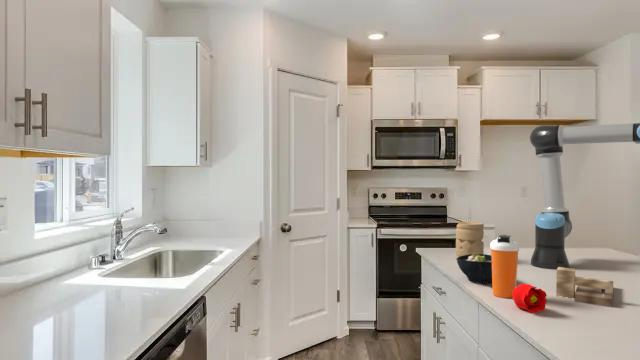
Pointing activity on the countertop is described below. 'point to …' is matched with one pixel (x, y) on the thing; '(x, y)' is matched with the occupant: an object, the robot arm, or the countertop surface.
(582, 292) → the plank
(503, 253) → the shaker bottle
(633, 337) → the countertop surface
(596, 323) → the countertop surface
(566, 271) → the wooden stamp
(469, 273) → the bowl
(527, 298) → the flower
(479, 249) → the container
